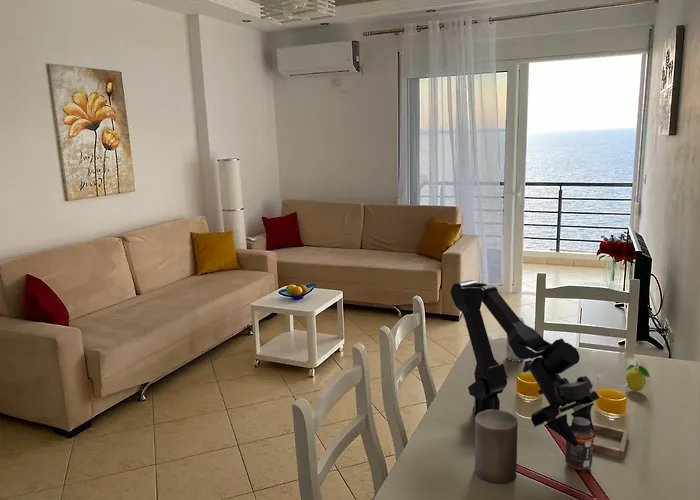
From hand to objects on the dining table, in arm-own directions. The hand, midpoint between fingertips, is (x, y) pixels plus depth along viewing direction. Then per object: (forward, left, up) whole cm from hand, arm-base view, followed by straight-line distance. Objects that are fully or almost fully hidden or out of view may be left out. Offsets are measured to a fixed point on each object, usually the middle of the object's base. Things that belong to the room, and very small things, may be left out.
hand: (585, 441), depth 127 cm
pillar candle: (-21, -3, -7) cm, 22 cm away
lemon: (+27, +42, -7) cm, 51 cm away
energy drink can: (-5, +66, -7) cm, 67 cm away
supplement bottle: (-1, +1, -7) cm, 7 cm away
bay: (+8, +12, -7) cm, 16 cm away
